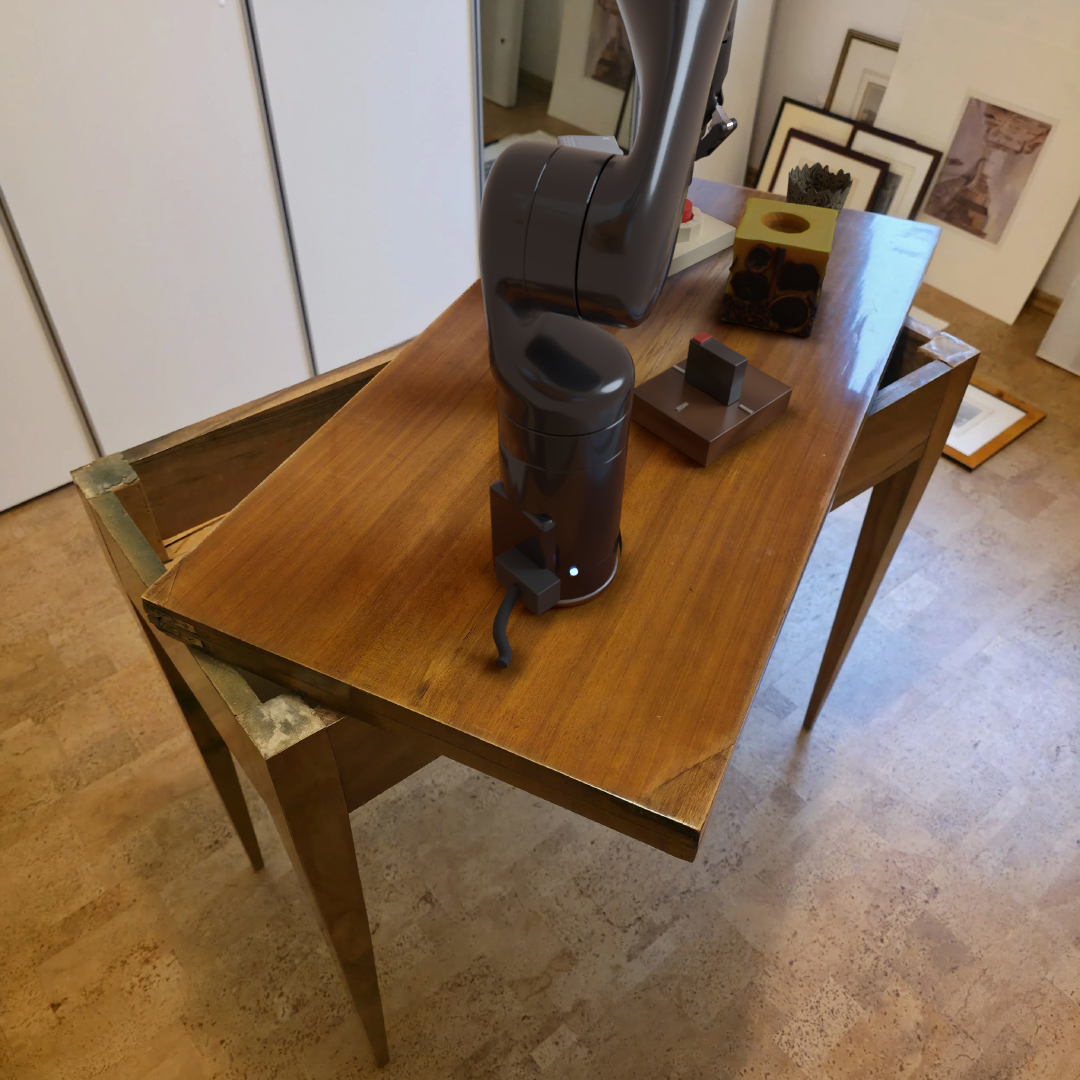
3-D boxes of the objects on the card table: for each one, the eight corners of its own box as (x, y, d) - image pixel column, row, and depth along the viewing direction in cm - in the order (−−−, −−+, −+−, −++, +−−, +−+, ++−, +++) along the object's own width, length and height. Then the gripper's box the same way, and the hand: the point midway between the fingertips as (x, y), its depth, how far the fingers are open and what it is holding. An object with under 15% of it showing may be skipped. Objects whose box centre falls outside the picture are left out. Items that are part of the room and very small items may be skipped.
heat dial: (740, 398, 82) (749, 356, 78) (727, 406, 81) (735, 363, 78) (696, 372, 85) (703, 330, 81) (683, 379, 84) (689, 337, 80)
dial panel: (705, 467, 80) (710, 440, 77) (626, 415, 85) (629, 389, 83) (786, 413, 85) (793, 386, 83) (708, 367, 90) (712, 341, 88)
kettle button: (675, 228, 103) (676, 214, 102) (650, 216, 105) (652, 202, 104) (697, 218, 105) (699, 204, 104) (673, 206, 107) (674, 192, 106)
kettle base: (667, 277, 103) (671, 246, 100) (607, 246, 108) (609, 215, 105) (733, 244, 108) (739, 213, 105) (673, 216, 113) (677, 185, 110)
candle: (810, 340, 94) (833, 254, 87) (717, 323, 96) (732, 237, 89) (821, 292, 101) (843, 209, 93) (733, 277, 103) (748, 194, 96)
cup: (847, 238, 109) (865, 175, 104) (816, 260, 106) (832, 195, 100) (796, 219, 113) (810, 156, 107) (764, 239, 109) (777, 175, 103)
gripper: (626, 17, 92) (615, 179, 105) (723, 49, 85) (698, 219, 98) (674, 2, 95) (658, 161, 108) (771, 33, 89) (742, 198, 101)
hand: (677, 188), depth 103 cm, fingers closed
